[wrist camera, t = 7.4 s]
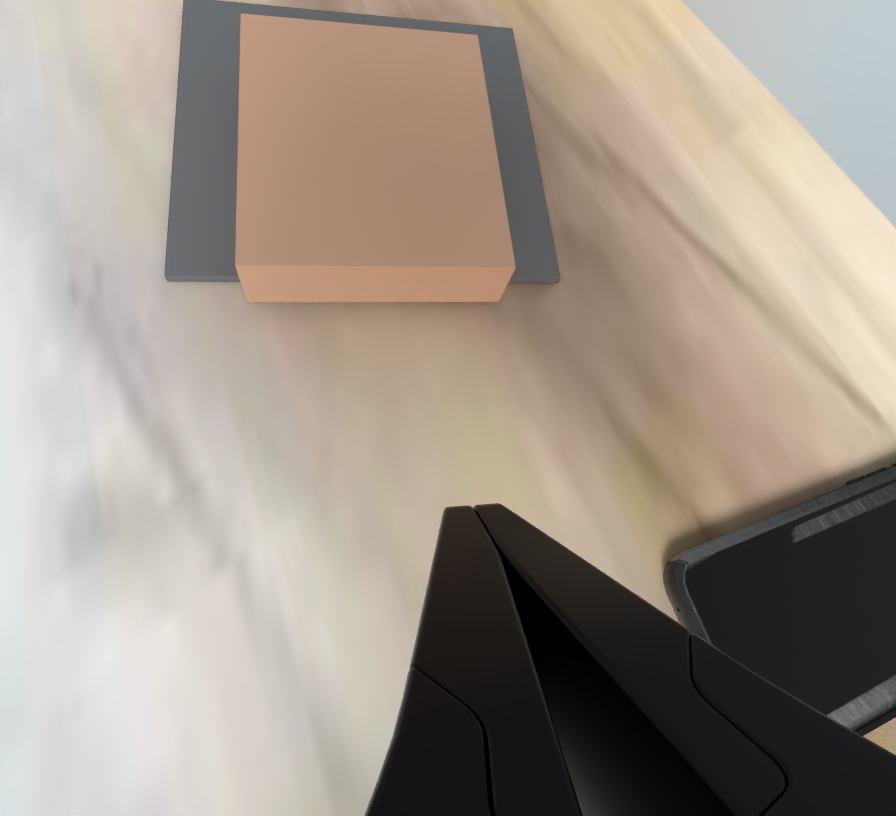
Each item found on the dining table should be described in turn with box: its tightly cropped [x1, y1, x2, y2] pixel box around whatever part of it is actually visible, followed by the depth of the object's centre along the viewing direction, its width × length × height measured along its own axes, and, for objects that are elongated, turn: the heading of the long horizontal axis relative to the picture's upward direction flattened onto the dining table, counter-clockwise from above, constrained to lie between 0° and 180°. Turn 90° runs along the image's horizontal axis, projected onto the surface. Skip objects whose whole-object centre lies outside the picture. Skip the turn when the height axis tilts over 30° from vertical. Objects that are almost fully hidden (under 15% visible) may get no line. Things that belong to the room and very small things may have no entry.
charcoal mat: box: [165, 0, 560, 283], centre depth 26 cm, size 15×16×1 cm
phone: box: [664, 463, 896, 736], centre depth 22 cm, size 8×1×15 cm
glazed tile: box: [235, 13, 516, 302], centre depth 24 cm, size 3×10×12 cm
